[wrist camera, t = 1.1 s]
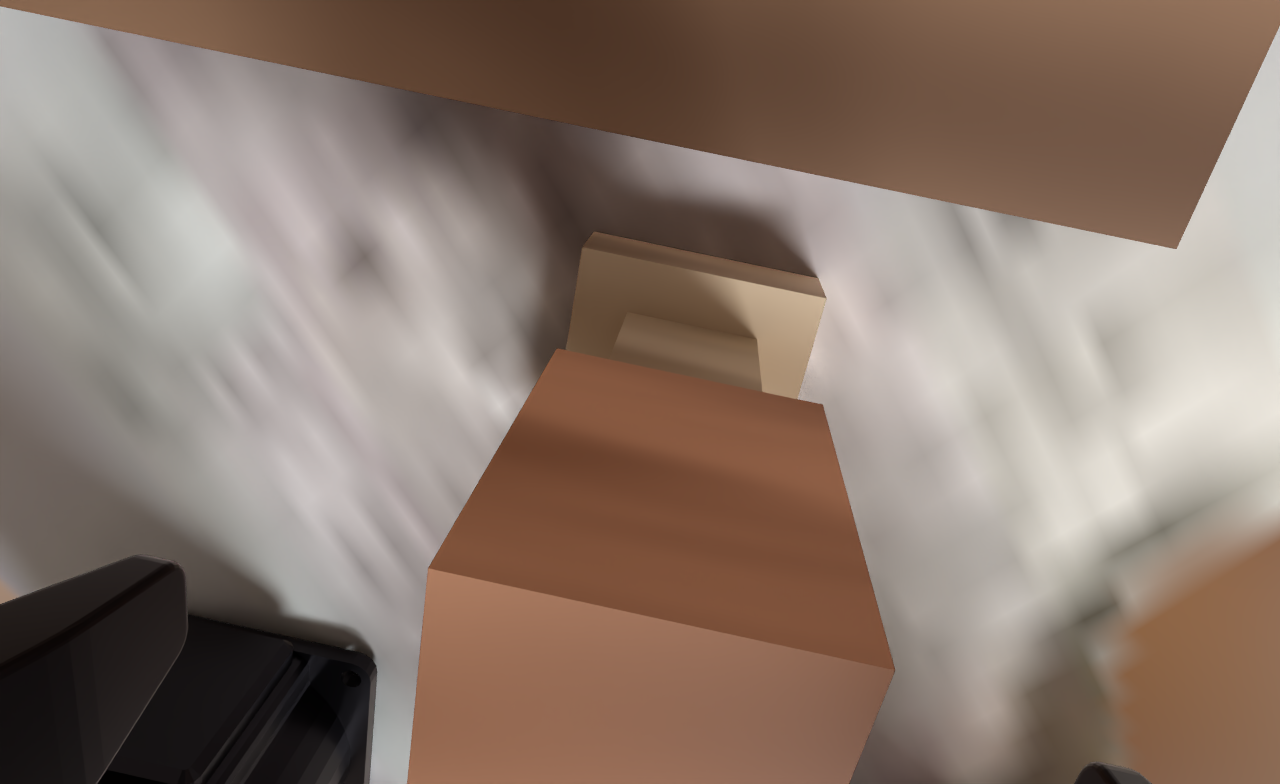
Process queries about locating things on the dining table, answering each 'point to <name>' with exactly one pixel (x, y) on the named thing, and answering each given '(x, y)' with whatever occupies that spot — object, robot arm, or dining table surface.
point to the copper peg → (657, 553)
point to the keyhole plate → (812, 83)
